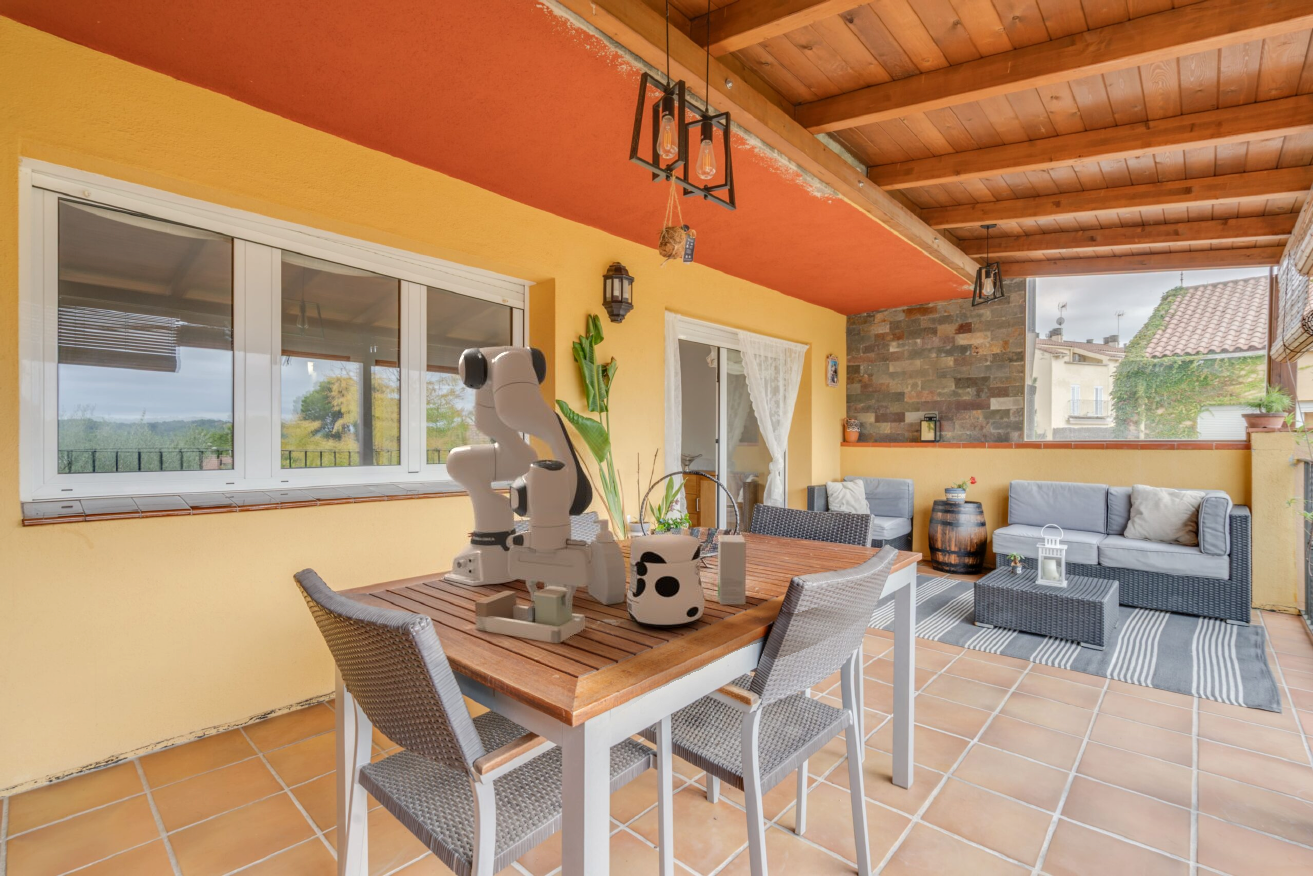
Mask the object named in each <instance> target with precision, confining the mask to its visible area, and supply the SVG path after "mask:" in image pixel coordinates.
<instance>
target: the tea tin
mask: <svg viewBox="0 0 1313 876" xmlns="http://www.w3.org/2000/svg"><path fill="white" fill-rule="evenodd" d="M567 592H568V590H566V588H563V587H555V586H549V587H547V588H544V587H543V588H541V589H538V591H536V592H534V595H535V601H534V605H535V623H539V624H545V625H551V626H557V627H559V626H561V625H563V624H565V623H567V622H569V621H571V620H572V613H573V604H572V605H571V606H563V605H562V597H565V596H566V594H567Z"/></svg>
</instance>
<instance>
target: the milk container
mask: <svg viewBox="0 0 1313 876" xmlns="http://www.w3.org/2000/svg"><path fill="white" fill-rule="evenodd" d="M629 550H630V553H629V554H630V558H629V567H630V568H629V569H630V572H629V573H630V579H629V585H628V590H627V594H626V608H627V613H628V615H629V618H630V619H631V620H633V621H634V622H636V623H637V624H640V625H643V626H646V627H653V628H667V629H668V628H679V627H683V626H687V625H691V624H693V623H695V622H697V621H699V620H700V618H701V617H702V616H703V614H704V609H705V604H706V596H705V591H704V588H703V585H702V580H701V546H700V541H699V538H698V537H694V536H692V535H685V534H674V533H673V534H671V533H669V534H665V533H664V534H662V533H661V534H650V535H649V534H647V535H641V536H638V537H634V538H633V539H631V541H630V548H629Z"/></svg>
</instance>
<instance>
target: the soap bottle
mask: <svg viewBox="0 0 1313 876" xmlns="http://www.w3.org/2000/svg"><path fill="white" fill-rule="evenodd" d="M592 522H593V524H600V525H599V530H598V531H597V532H596V534H595V540H591V541H590V543H589V544H590V545H591V547H592V549H593V562H594V569H595V580H594V582H593V583H592V584H591V585H589V586H586V588H587V590H588V594H589V595H590V596H592V598H594V599H596V600H597V601H598V602H600V603H601V604H603V605H604V606H607V605H615V604H620V603H622V604H623V602H624V600H625V596H626V591H627V590H626V589H627V572H626V562H625V560H624V558H625V557H624V554H623V551H622V549H621V547H620V545H619V543H618V542H616V541H615V540H614V533H613V532H612V531H611V530H609V518H608V519H606V518H602V519H595V520H593V521H592Z"/></svg>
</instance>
